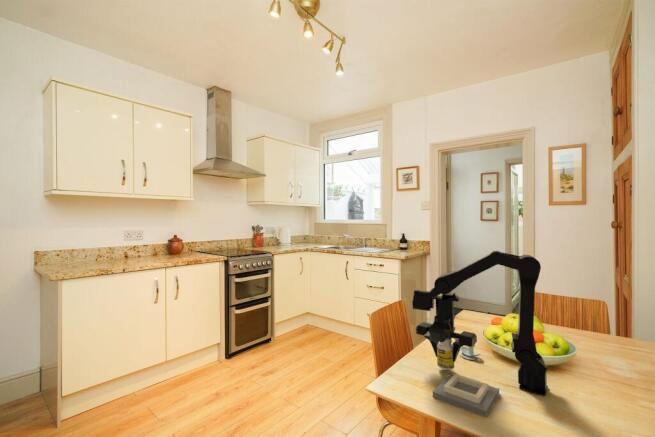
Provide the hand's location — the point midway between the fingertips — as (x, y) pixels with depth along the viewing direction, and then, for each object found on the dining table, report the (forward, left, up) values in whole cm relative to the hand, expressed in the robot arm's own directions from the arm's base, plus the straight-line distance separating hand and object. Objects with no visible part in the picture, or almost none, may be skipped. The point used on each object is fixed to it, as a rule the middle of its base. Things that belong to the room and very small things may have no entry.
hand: (445, 359), depth 103 cm
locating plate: (-10, +11, -4) cm, 15 cm away
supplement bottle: (0, 0, -3) cm, 3 cm away
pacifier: (-3, -16, -4) cm, 17 cm away
